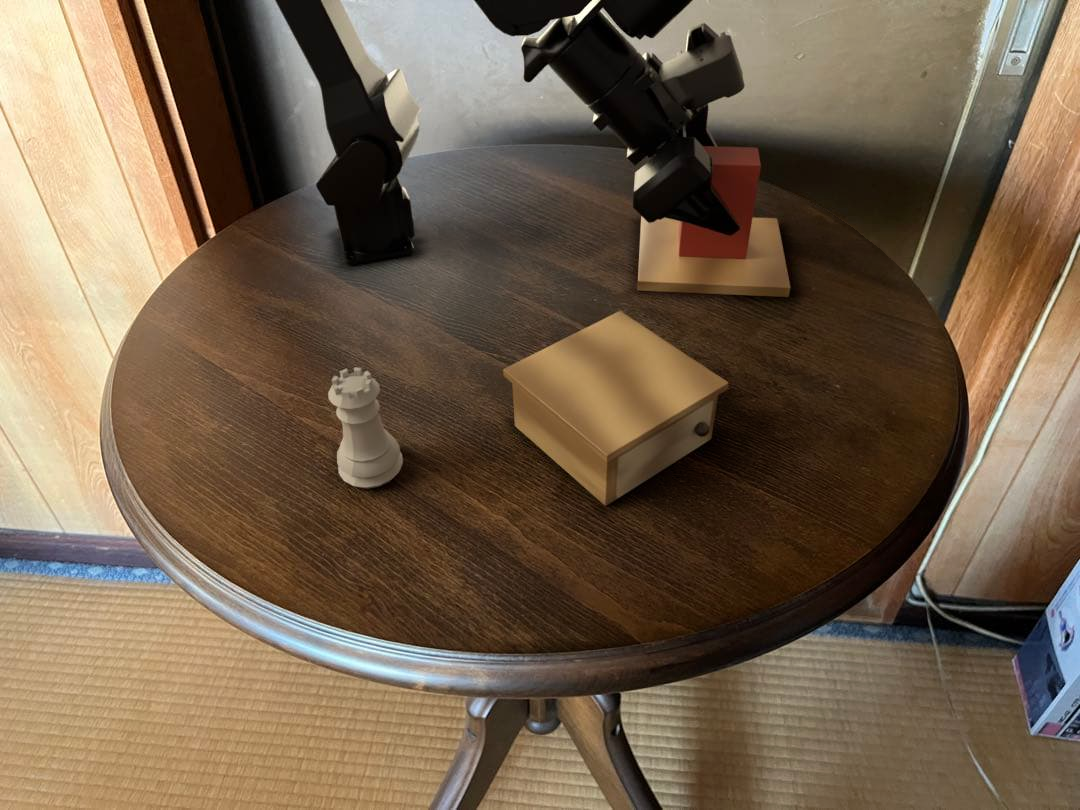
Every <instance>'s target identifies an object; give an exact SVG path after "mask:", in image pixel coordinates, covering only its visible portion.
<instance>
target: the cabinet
mask: <svg viewBox="0 0 1080 810" xmlns="http://www.w3.org/2000/svg"><path fill="white" fill-rule="evenodd" d="M502 372H503V373H502V374H503V377H504V378H505V379H506V380H508V381H509V382H510V383H511V386H512V403H513V413H514V414H513V417H514V427H516V429H518V430H519V431H520V432H521V433H522V434H523V435H524V436H525V437H527V439H529V440H530V441H531V442H532V443H533V444H534V445H536V446H537V447H538V448H539V449H540V450H541V451H543V452H544V453H545V454H546V455H547V456H548V457H549V458H550V459H551V460H553V461H554V462H555V463H556V464H557V465H559V466H560V467H561V468H562V469H563V470H564V471H565V472H566V473H567V474H569V476H571V477H572V478H573V479H574V480H575V481H576V482H578V483H579V484H580V485H581V486H582V487H583V488H584V489H585V490H587V492H589V493H590V494H591V495H593V497H594V498H596V499H597V500H598V501H599V502H600V503H601V504H603V505H604V506H606V507H607V506H608V505H610V504H611V503H613V502H615V501H616V500H617V499H619V498H621V497H622V496H624V495H625V494H627V493H629V492H631V491H632V490H634V489H635V488H637V487H639V485H641V484H643V483H644V482H646V481H648V480H649V479H650V478H652V477H654V476H655V475H657V474H658V473H660V472H661V471H664V470H665V469H667V468H668V467H669V466H672V464H675V463H676V462H677V461H679V460H680V459H682V458H684V457H685V456H687V455H688V454H690V453H692V452H693V451H695V450H697V449H698V448H700V447H701V446H703V445H704V444H706V443H707V442H709V441H711V440H712V437H713V430H714V425H715V423H714V422H715V417H716V411H717V404H718V398H719V395H721V394H722V393H724V392H725V391H727V390H728V389H729V383H730V382H728V381H727V380H725V379H724V378H722V377H721V376H719V375H718V374H716V373H715V372H713V371H712V370H710V369H709V368H707V367H706V366H704V365H703V364H701V363H700V362H698V361H697V360H695V359H694V358H692V357H691V356H689V355H688V354H686V353H685V352H683V351H682V350H680V349H679V348H677V347H675V346H674V345H672V344H671V343H670V342H668V341H666V339H663V338H662V337H660V336H659V335H657V334H656V333H654V332H653V331H651V330H650V329H649V328H647V327H646V326H644V325H642V324H640V323H639V321H638V322H637V321H636V320H635V319H633V318H631V317H630V316H629V315H627V314H626V313H624V312H623V311H621V310H619V311H617V312H615V313H613V314H611V315H609V316H606V317H605V318H603V319H601V320H599V321H597V322H595V323H593V324H591V325H589V326H587V327H585V328H583V329H581V330H579V331H577V332H575V333H573V334H571V335H569V336H567V337H565V338H563V339H561V340H559V341H557V342H555V343H553V344H551V345H549V346H547V347H545V348H543V349H541V350H539V351H537V352H535V353H533V354H531V355H529V356H527V357H525V358H523V359H521V360H519V361H517V362H515V363H513V364H511V365H509V366H507V367H505V368H504V369H503V370H502Z"/></svg>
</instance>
